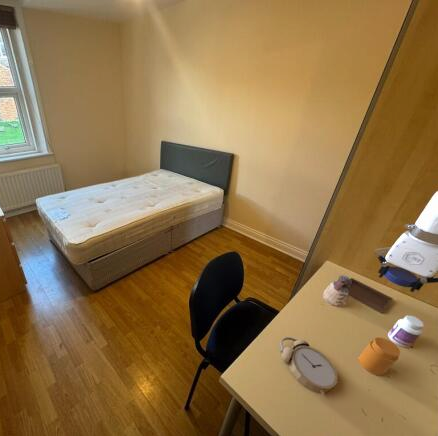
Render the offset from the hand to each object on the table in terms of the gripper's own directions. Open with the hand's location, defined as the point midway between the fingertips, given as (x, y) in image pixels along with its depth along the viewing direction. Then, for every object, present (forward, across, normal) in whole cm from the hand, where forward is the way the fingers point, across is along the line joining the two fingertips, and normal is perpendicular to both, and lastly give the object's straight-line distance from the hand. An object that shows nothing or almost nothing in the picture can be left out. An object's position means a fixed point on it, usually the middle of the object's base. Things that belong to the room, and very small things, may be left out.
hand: (396, 282), depth 71 cm
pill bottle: (+20, +8, 0) cm, 21 cm away
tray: (+19, -5, +13) cm, 24 cm away
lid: (-3, 0, 0) cm, 3 cm away
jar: (+19, +6, -17) cm, 26 cm away
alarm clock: (+19, -6, -34) cm, 39 cm away
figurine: (+20, -11, +2) cm, 23 cm away
